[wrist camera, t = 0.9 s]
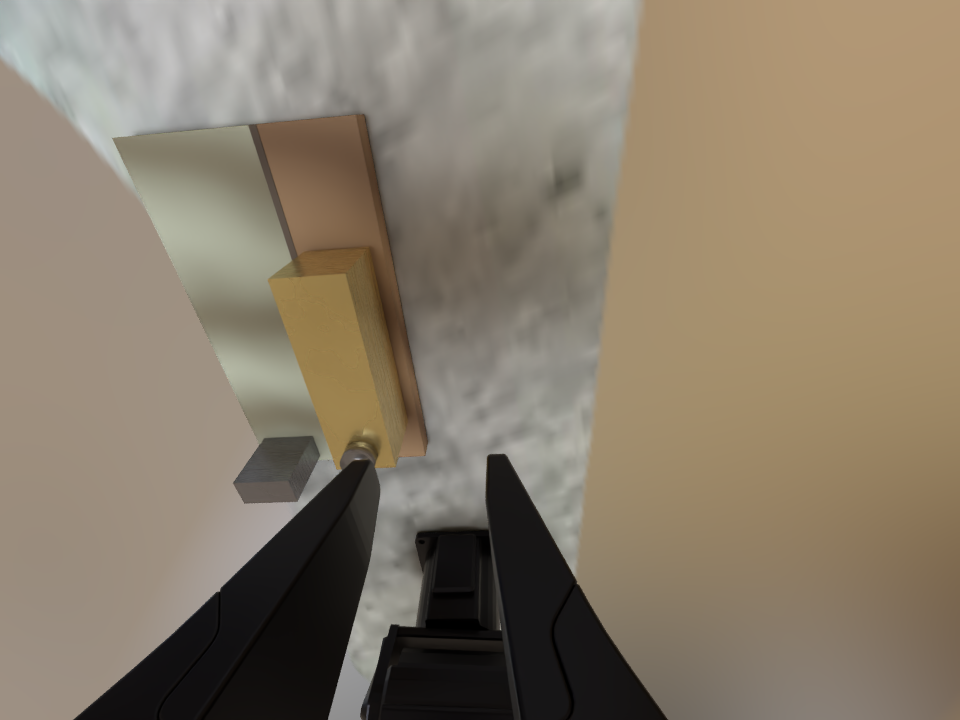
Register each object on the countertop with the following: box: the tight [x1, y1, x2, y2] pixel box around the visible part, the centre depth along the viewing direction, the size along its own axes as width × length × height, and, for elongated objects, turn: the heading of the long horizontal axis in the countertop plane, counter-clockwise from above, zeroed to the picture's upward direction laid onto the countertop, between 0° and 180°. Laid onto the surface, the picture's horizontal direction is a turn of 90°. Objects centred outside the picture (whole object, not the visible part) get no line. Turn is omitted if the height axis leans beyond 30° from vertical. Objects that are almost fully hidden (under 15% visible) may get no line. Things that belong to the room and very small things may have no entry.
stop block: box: [233, 436, 320, 503], centre depth 24 cm, size 2×3×4 cm, turn 95°
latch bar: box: [267, 247, 408, 470], centre depth 19 cm, size 10×3×4 cm, turn 5°
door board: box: [112, 114, 428, 460], centre depth 21 cm, size 18×10×1 cm, turn 5°
